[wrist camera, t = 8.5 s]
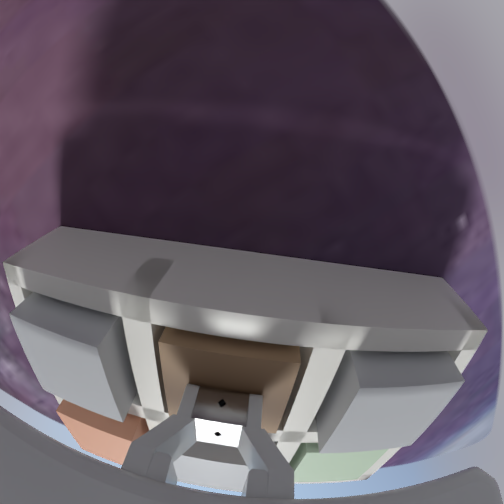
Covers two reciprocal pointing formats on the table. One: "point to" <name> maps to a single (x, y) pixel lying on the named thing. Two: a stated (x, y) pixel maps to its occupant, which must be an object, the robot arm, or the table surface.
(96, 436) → the key terracotta
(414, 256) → the table surface
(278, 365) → the key walnut
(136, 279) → the keypad
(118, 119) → the table surface
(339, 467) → the key sage
